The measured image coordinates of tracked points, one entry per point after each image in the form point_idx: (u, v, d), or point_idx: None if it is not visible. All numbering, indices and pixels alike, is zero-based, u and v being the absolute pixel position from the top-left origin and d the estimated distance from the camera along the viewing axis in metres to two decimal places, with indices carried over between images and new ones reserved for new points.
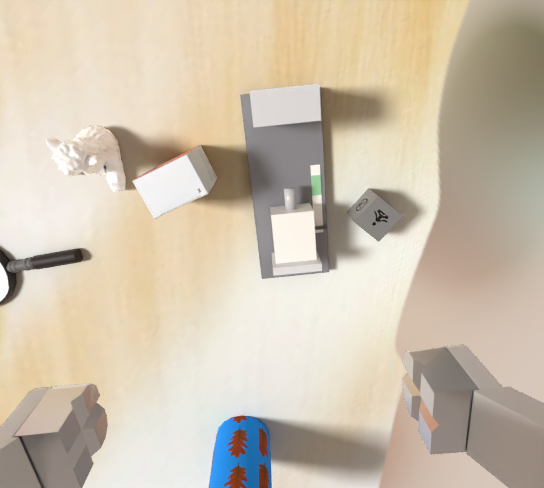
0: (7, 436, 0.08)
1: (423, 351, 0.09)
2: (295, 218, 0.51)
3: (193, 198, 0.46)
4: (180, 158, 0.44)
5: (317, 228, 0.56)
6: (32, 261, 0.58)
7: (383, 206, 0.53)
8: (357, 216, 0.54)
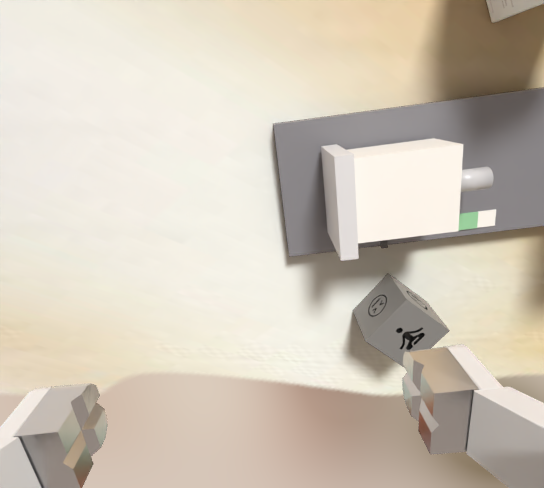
0: (7, 436, 0.08)
1: (423, 351, 0.09)
2: (448, 196, 0.25)
3: None
4: None
5: None
6: None
7: (429, 340, 0.31)
8: (411, 301, 0.30)
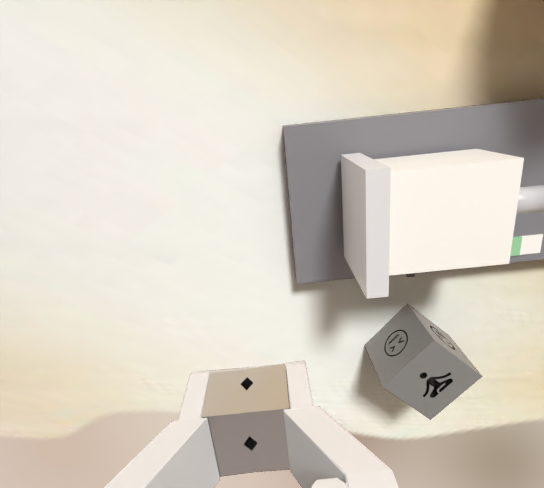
0: (195, 417, 0.08)
1: (261, 368, 0.09)
2: (500, 221, 0.20)
3: None
4: None
5: None
6: None
7: (457, 387, 0.26)
8: (439, 341, 0.25)
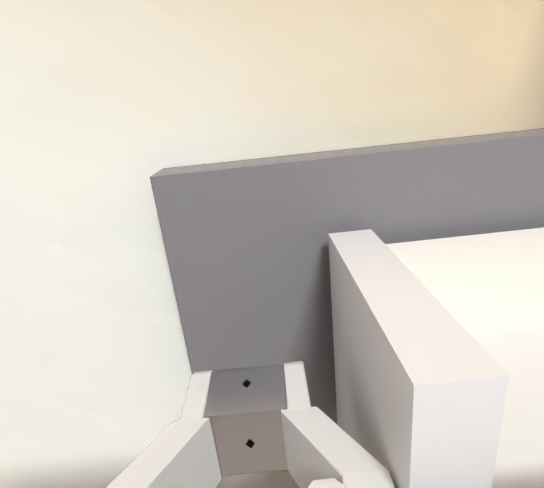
0: (197, 417, 0.08)
1: (259, 368, 0.09)
2: None
3: None
4: None
5: None
6: None
7: None
8: None
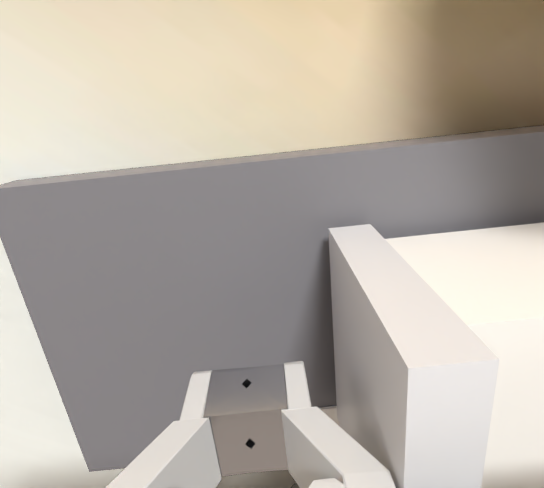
0: (196, 417, 0.08)
1: (259, 368, 0.09)
2: None
3: None
4: None
5: None
6: None
7: None
8: None
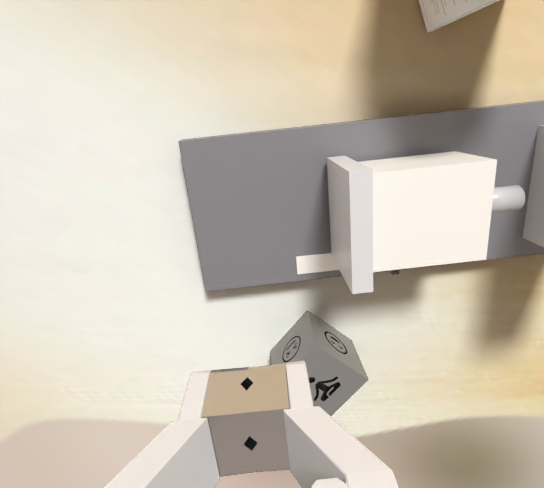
0: (195, 417, 0.08)
1: (261, 368, 0.09)
2: (476, 219, 0.21)
3: None
4: None
5: None
6: None
7: (345, 390, 0.27)
8: (324, 347, 0.27)
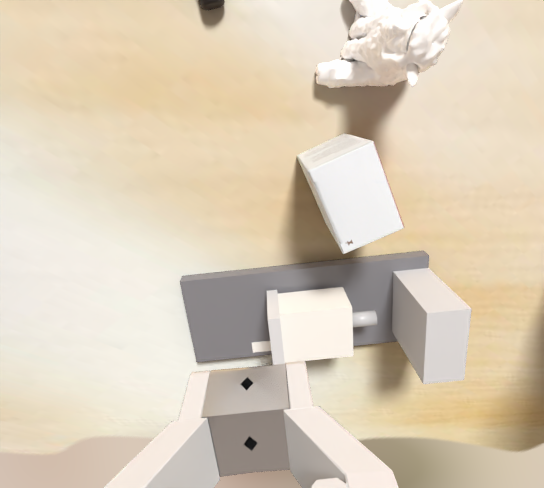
0: (195, 417, 0.08)
1: (261, 368, 0.09)
2: (344, 336, 0.38)
3: (338, 233, 0.30)
4: (399, 219, 0.30)
5: None
6: None
7: None
8: None
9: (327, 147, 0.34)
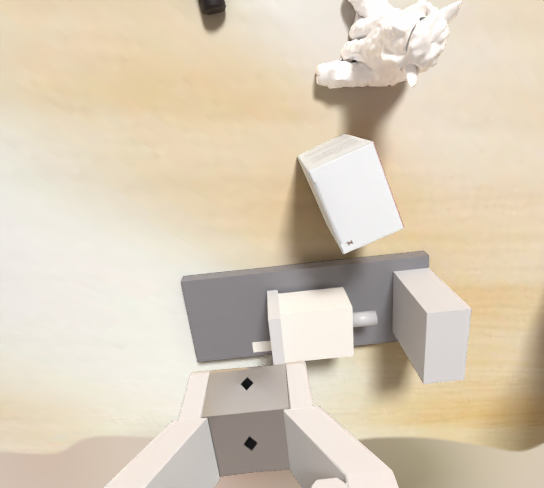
0: (195, 417, 0.08)
1: (261, 368, 0.09)
2: (345, 336, 0.38)
3: (338, 233, 0.30)
4: (399, 219, 0.30)
5: None
6: None
7: None
8: None
9: (327, 147, 0.34)
